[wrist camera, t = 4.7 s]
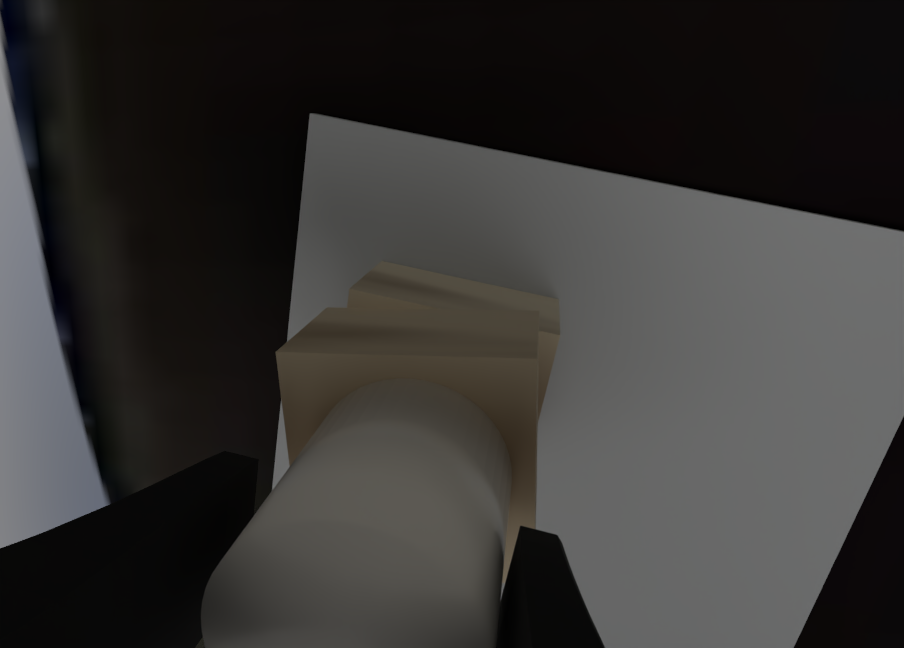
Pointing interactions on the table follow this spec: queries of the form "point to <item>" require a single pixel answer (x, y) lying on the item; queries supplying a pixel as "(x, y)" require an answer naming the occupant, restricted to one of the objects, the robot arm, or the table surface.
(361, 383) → the slab top
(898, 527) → the table surface
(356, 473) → the cylinder
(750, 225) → the mat
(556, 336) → the slab bottom
